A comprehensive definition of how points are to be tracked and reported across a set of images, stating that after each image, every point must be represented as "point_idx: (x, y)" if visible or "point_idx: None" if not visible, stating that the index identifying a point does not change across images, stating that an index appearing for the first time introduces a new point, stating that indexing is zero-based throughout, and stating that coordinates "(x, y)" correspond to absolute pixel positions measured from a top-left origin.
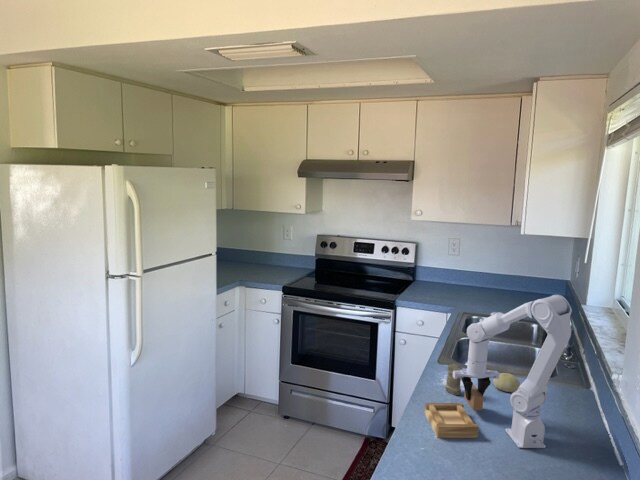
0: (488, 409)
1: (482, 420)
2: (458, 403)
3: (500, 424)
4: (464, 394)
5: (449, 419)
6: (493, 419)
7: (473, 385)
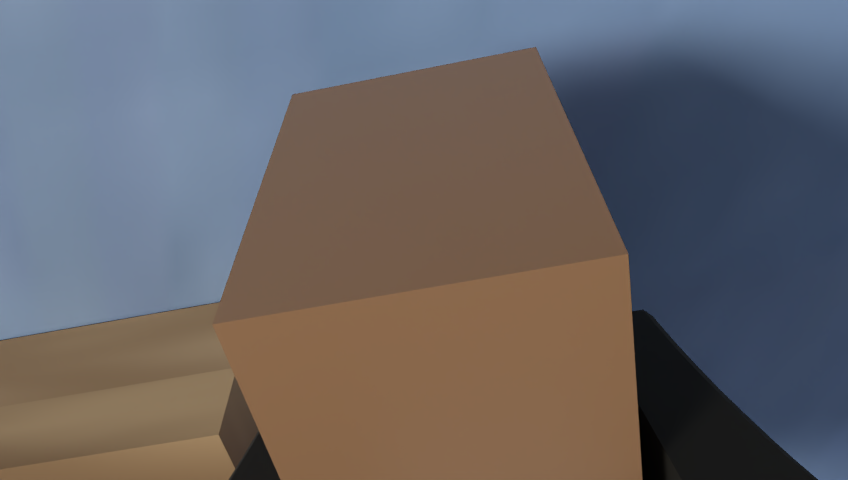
0: (811, 68)
1: None
2: (146, 461)
3: (783, 449)
4: (279, 140)
5: None
6: (741, 360)
7: (586, 282)
